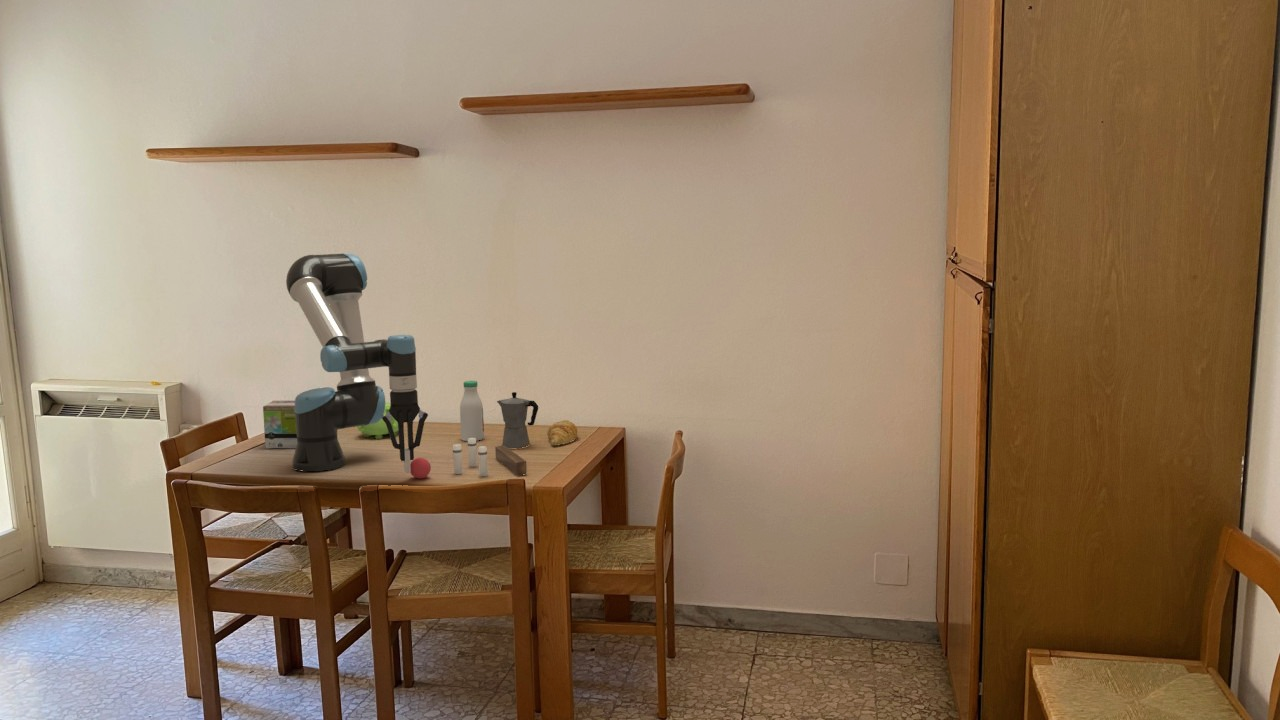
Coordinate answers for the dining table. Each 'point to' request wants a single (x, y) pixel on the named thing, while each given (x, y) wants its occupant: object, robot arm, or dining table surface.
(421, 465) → the ball
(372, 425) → the green lumpy piece
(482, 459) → the pin
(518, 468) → the brown long rectangular bar
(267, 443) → the tea box
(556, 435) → the croissant
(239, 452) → the dining table surface
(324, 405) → the robot arm
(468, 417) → the milk bottle
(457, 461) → the front pin
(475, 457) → the pin
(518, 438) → the coffeepot
